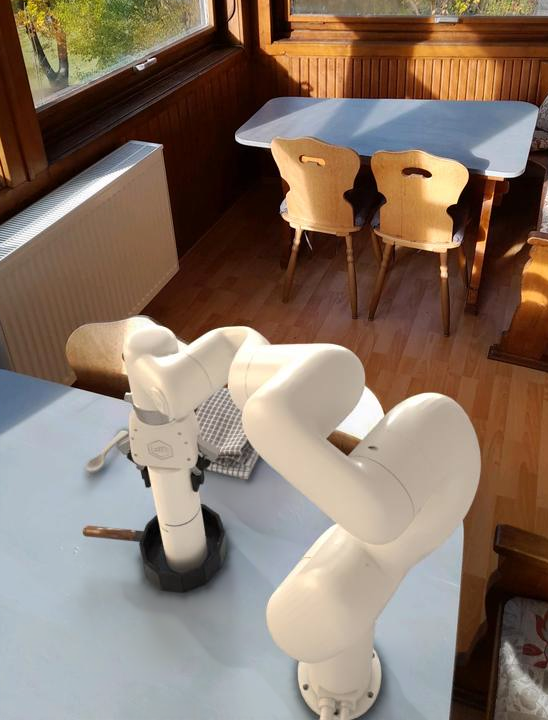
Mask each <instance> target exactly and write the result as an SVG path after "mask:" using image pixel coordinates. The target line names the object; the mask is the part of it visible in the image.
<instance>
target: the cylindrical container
mask: <svg viewBox="0 0 548 720" xmlns="http://www.w3.org/2000/svg"><path fill="white" fill-rule="evenodd" d="M147 467H148V472H149V477H150V482H151V487H150V488H151V491H152V495H153V500H154V501H153V502H154V506H155V511H156V515H157V516H158V521H159V526H160V531H161V536H162V541H163V544H162V545H163V550H164V555H165V560H166V563H167V565H168V567H169V568H170V569H171V570H172V571H173V572H174V573H177V574H182V573H185V572H188V571H190V570H193V569H195V568H198V567H201V566H202V565H203V564H204V563H205V562H206V559H207V557H208V544H207V537H206V536H205V531H204V524H203V517H202V511H201V504H202V503H201V498H200V493H199V490H198V492H194V491H193V488H192V482H191V473H192V471H191V469H175V468H162V467H152V466H147Z"/></svg>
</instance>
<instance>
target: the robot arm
mask: <svg viewBox="0 0 548 720" xmlns="http://www.w3.org/2000/svg"><path fill="white" fill-rule="evenodd" d="M122 356H123V360H124V366H125V369H126V374H127V379H128V384H129V389H130V392H125V394H124V399H123V401H124V402H125V403H129V404H131V405H132V408H131V409H130V412H129V420H128V421H129V422H128V429H129V430H128V433H129V435H128V436H127V437H125V438H124V439H122V440H121V441H120V442H118V445H117V446H116V449H117V450H118V451H119V452H121V453H122V454H123V455H124V456H126V459H127V460H129V461H130V462H132V463H133V464H134V465H136V466H135V468H136V470H137V471H140V475H141V479H142V480H143V482H144V487H145V489H150V488H152V487H151V482H150V477H149V472H148V467H147V466H152V467H162V468H175V469H191V471H192V473H191V482H192V488H193V491H194V492H198V491H199V489H200V486H201V485H204V483H205V477H206V475H205V470H207V469H206V468H207V467H209V466H210V464H211V463H212V462H214V461H215V460H216V459H217V458H218V456H219V453H220V449H218V448H217V447H215V446H214V445H212V444H210V443H209V442H207V441H205V440H204V439H202V438H201V433H200V428H199V424H198V421H197V418H196V415H195V413H196V411H195V410H197V409H198V407H199V406H200V405H201V404H202V403H204V402H205V401H206V400H207V399H209V398H210V397H211V396H212V395H213V394H215V393H216V392H217V391H218V390H220V389H221V388H224V387H225V386H226V385H228V386H227V387H228V389H229V392H230V396H231V398H232V400H233V402H234V404H235V405H236V406H237V408H238V409H240V410H241V411H242V412H243V413H242V425H243V429H244V432H245V435H246V437H247V439H248V440H249V442H250V444H251V445H252V447H253V448H254V449H255V450H256V452H257V453H258V454H259V457H260V458H261V459H263V460H264V462H265V463H267V465H268V466H269V467H271V468H272V469H273V470H274V471H275V472H276V473H278V474H279V475H280V476H281V477H282V478H283V479H284V480H286V482H288V483H289V484H290V485H292V486H293V487H294V489H296V490H298V491H299V492H300V493H301V494H302V495H304V496H305V497H306V498H307V499H308V500H309V501H310V502H312V504H314V505H315V506H316V507H317V508H318V509H320V510H321V512H323V513H324V514H325V515H327V516H328V517H329V518H330V519H331V520H332V521H333V522H334V523H335V524H333V525H331V526H330V527H329V528H328V529H326V530H325V531H324V532H323V533H322V534H321V535H320V536H319V537H318V539H317V540H316V541H315V542H314V543H313V544H312V546H311V547H310V548H309V549H308V550H307V551H306V552H305V554H304V555H303V556H302V558H301V559H300V560H299V561H298V563H297V564H296V565H295V567H294V568H293V569H292V570H291V571H290V573H289V574H288V575H287V576H286V578H284V579H283V581H282V582H281V584H280V585H279V586H278V587H277V588H276V590H275V591H274V592H273V593H272V595H271V596H270V598H269V600H268V602H267V605H266V612H265V618H266V624H267V628H268V631H269V634H270V636H271V638H272V639H273V641H274V643H275V644H276V646H277V647H278V648H279V649H280V650H281V651H282V652H283V653H284V654H285V655H287V656H288V657H290V658H292V659H293V660H296V661H298V667H297V680H298V687H299V690H300V693H301V694H300V695H301V696H302V698H303V700H304V701H305V703H306V704H307V706H308V707H309V708H310V709H311V710H312V711H313V712H315V714H317V715H318V716H319V720H355V719H357V718H359V717H360V716H363V715H364V714H366V713H367V712H368V710H369V709H370V708H371V707H372V706H373V704H374V703H375V702H376V699H378V698H377V697H378V695H379V693H380V689H381V684H382V666H381V662H380V659H379V655H378V653H377V651H376V649H375V648H374V645H375V632H376V622H377V620H378V619H379V617H380V616H381V615H382V613H383V611H384V610H385V609H386V607H387V606H388V604H389V602H390V601H391V600H392V598H393V596H394V595H395V593H396V592H397V590H398V589H399V587H400V586H401V584H402V583H403V581H404V580H405V578H406V576H407V575H408V574H409V572H410V571H411V569H413V568H414V567H415V566H416V565H418V564H419V563H421V562H422V561H423V560H425V559H426V558H427V557H428V556H430V555H431V554H432V553H434V551H436V550H438V549H439V548H440V547H441V546H442V545H443V544H444V543H445V542H447V540H449V538H451V536H453V534H454V533H455V532H456V530H457V529H458V528H459V526H460V525H461V523H462V522H463V521H464V519H465V517H466V516H467V514H468V512H469V510H470V509H471V506H472V504H473V502H474V499H475V496H476V494H477V491H478V487H479V484H480V477H481V471H482V456H481V449H480V444H479V440H478V436H477V433H476V431H475V428H474V426H473V423H472V422H471V420H470V418H469V416H468V414H467V413H466V412H465V410H464V409H463V407H462V406H461V405H460V404H459V403H458V402H456V401H455V400H454V399H453V398H451V397H449V396H447V395H444V394H442V393H438V392H423V393H419V394H416V395H412V396H410V397H408V398H406V399H404V400H403V401H400V403H398V404H396V405H395V406H394V407H393V408H391V409H390V410H389V411H388V412H387V413H386V414H385V415H384V416H383V417H382V418H380V420H379V421H378V423H377V424H375V425H374V426H373V428H372V429H371V430H370V431H369V432H368V433H367V434H366V435H365V436H364V437H363V439H362V440H361V441H360V442H359V443H358V444H357V445H356V446H355V447H354V448H353V450H351V452H350V453H349V454H348V455H346V454H345V453H344V452H343V451H341V450H340V449H339V448H338V447H336V446H335V445H334V444H332V443H331V442H330V441H329V440H328V439H327V438H328V437H329V436H330V435H331V434H332V433H333V432H334V431H335V430H336V429H338V427H339V426H340V425H341V424H342V423H343V422H344V421H345V420H346V418H348V416H349V415H350V414H351V413H352V412H354V410H355V409H356V407H357V405H358V404H359V403H360V401H361V398H362V397H363V394H364V390H365V386H366V373H365V368H364V365H363V363H362V361H361V360H360V358H359V357H358V356H357V355H356V354H355V353H354V352H353V351H352V350H350V349H349V348H347V347H344V346H342V345H338V344H334V343H290V344H289V343H287V344H286V343H284V344H272V343H270V341H269V340H268V339H267V338H266V337H265V336H263V334H261V333H260V332H258V331H257V330H255V328H251V327H249V326H246V325H245V326H244V325H243V326H241V325H239V326H238V325H237V326H224V327H218V328H215V329H212V330H210V331H208V332H206V333H205V334H203V335H201V336H200V337H198V338H197V339H195V340H194V341H192V342H191V343H189V344H188V345H187V346H185V347H184V348H182V349H181V350H180V351H179V344H178V339H177V337H176V335H175V333H174V332H173V331H172V330H171V329H169V328H168V327H165V326H163V325H157V324H152V325H145V326H142V327H140V328H137V329H135V330H134V331H132V332H131V333H129V335H127V337H126V338H125V340H124V341H123V345H122ZM198 450H200V451H201V452H203V453H205V455H204V456H203V455H202V454H201V453H200V452H199V451H198Z"/></svg>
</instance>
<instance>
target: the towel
mask: <svg viewBox="0 0 548 720" xmlns="http://www.w3.org/2000/svg"><path fill="white" fill-rule="evenodd" d="M242 413H243V412H242V411H241V410H240V409H238V408H237V406H236V405H235V404H234V402H233V400H232V398H231V396H230V392H229V388H227V387H222V388H221V389H220V390H218V391H217V392H216V393H215V394H213V395H212V396H211V397H210V398H209V399H207V400H206V401H205V402H204V403H202V404H201V405H200V406H199V407H197V408H196V411H195V415H196V418H197V421H198V424H199V428H200V433H201V438H202V439H204V440H205V441H207V442H209V443H210V444H212V445H214V446H215V447H217V448H218V449H220V453H219V456H218V458H217V459H216V460H215V461H214V462H212V463H211V464H210V466H209V467H207V468H206V469H205V470H206V471H209V472H214V473H219V474H223V475H226V476H231V477H236V478H240V479H243V480H248V479H250V476H251V474H252V473H253V469H254V467H255V465H256V463H257V461H258V459H259V457H260V455H259V454H258V453H257V452H256V450H255V449H254V448H253V447H252V445H251V444H250V442H249V440H248V439H247V437H246V435H245V432H244V429H243V425H242ZM198 451H199V452H200V453H201V454H202V455H203V456H204V455H205V453H203V452H201V451H200V450H198Z"/></svg>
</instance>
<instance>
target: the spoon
mask: <svg viewBox="0 0 548 720" xmlns="http://www.w3.org/2000/svg"><path fill="white" fill-rule="evenodd" d="M128 436H129V431H127V430H125V429H124V430H120V431H119V432H118V433H117V434H116V435H115V436H114V438H113V439H111V441H109V442H108V444H107V445H106V447H104V449H103V450H102V451H101V453H100V454H99V455H97V456H96V457H93V458H91V459H90V460H89V462H88V463H87V464H86V467H85V470H86V472H87V473H89V474H95V473H97V472H100V470H102V468H103V467H104V464H105V458H106V456H107V455H108V454H109V453H110V451H111V450H112V448H114V447H115V446H116V445H117V444H119V443H120V441H121V440H123V439H125V438H126V437H128Z"/></svg>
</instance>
